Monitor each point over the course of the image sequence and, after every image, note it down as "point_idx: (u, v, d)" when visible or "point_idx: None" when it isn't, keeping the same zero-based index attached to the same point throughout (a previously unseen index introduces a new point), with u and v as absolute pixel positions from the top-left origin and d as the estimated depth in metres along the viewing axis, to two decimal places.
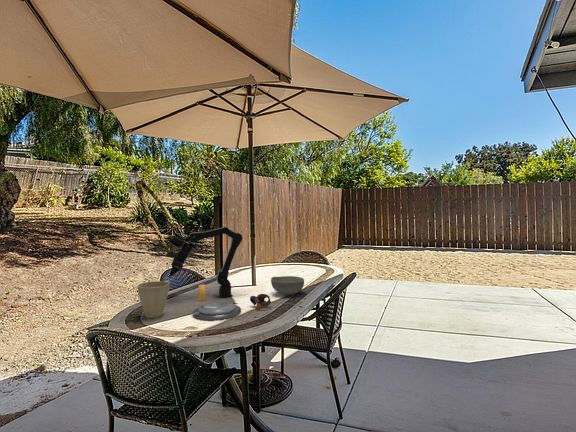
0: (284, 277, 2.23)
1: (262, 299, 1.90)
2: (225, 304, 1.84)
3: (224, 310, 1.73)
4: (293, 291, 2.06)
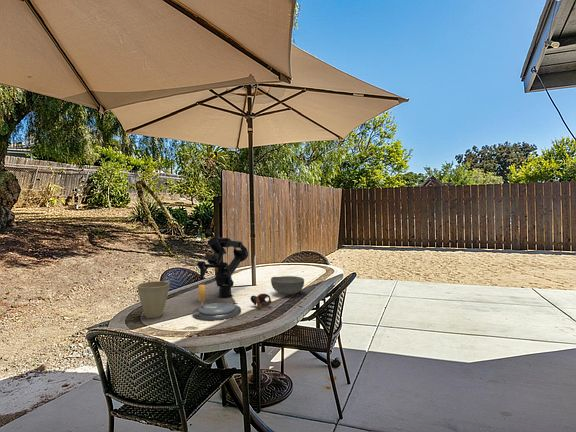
0: (284, 277, 2.23)
1: (263, 299, 1.91)
2: (225, 304, 1.84)
3: (224, 310, 1.73)
4: (293, 291, 2.06)
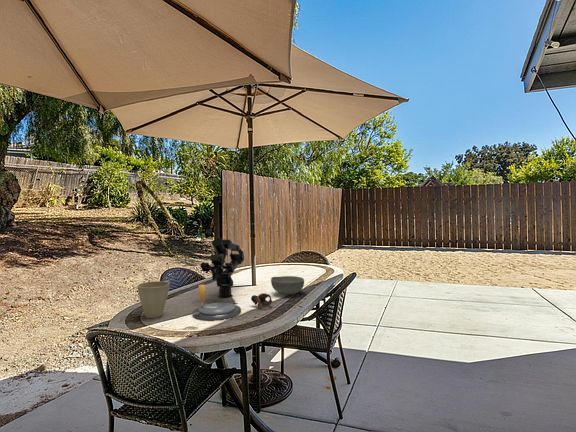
0: (284, 277, 2.23)
1: (263, 299, 1.91)
2: (225, 304, 1.84)
3: (224, 310, 1.73)
4: (293, 291, 2.06)
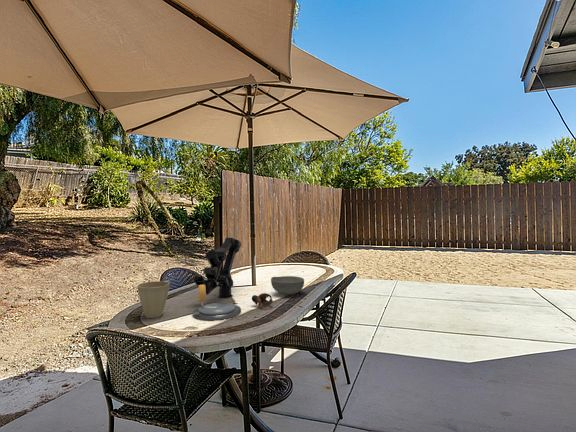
0: (284, 277, 2.23)
1: (264, 298, 1.92)
2: (225, 304, 1.84)
3: (224, 310, 1.73)
4: (293, 291, 2.06)
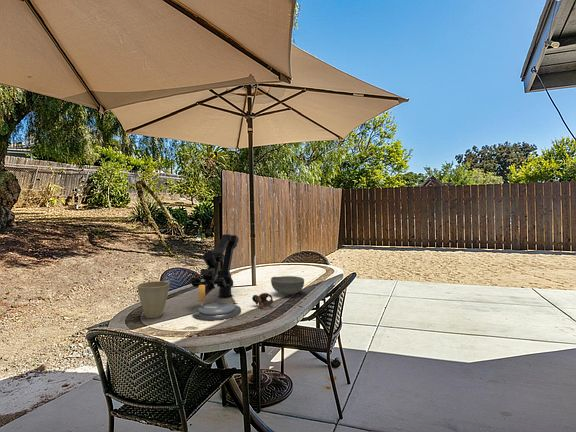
0: (284, 277, 2.23)
1: (264, 298, 1.92)
2: (225, 304, 1.84)
3: (224, 310, 1.73)
4: (293, 291, 2.06)
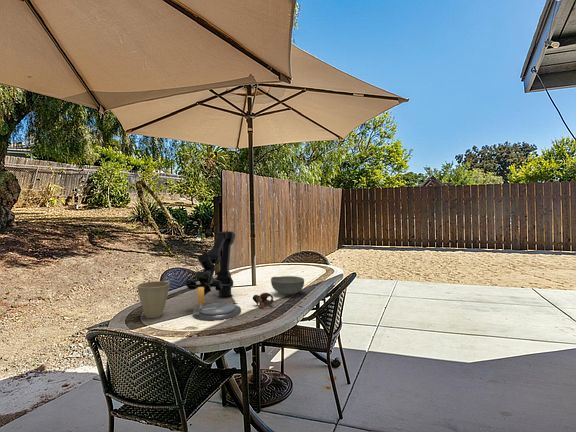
0: (284, 277, 2.23)
1: (265, 298, 1.93)
2: (217, 303, 1.85)
3: (229, 308, 1.77)
4: (293, 291, 2.06)
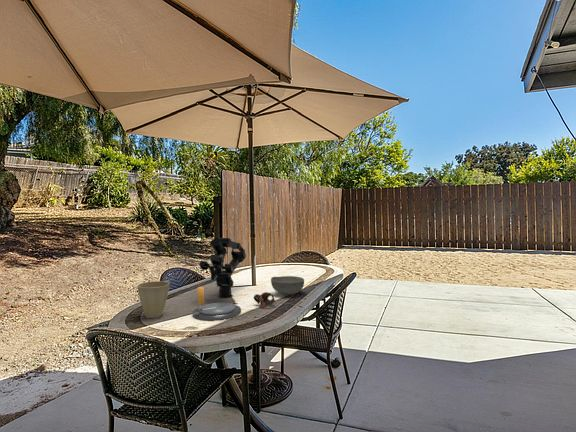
0: (284, 277, 2.23)
1: (266, 298, 1.93)
2: (217, 303, 1.85)
3: (229, 308, 1.77)
4: (293, 291, 2.06)
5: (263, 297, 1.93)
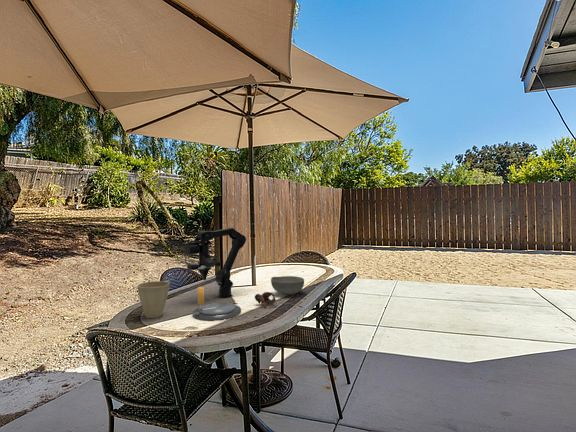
0: (284, 277, 2.23)
1: (266, 297, 1.94)
2: (217, 303, 1.85)
3: (229, 308, 1.77)
4: (293, 291, 2.06)
5: (264, 297, 1.93)
